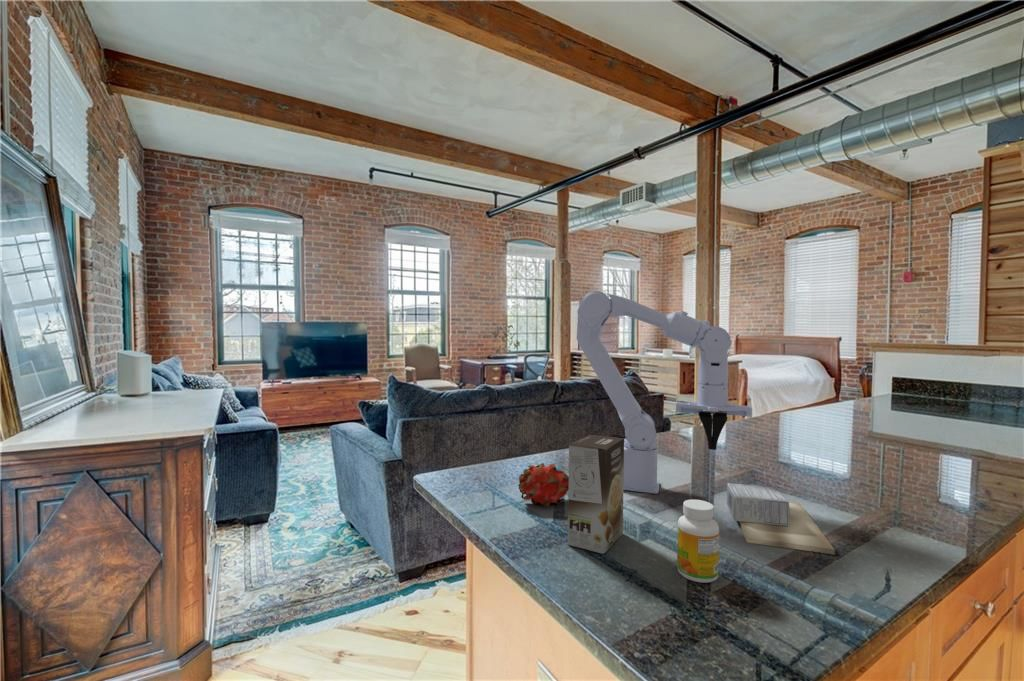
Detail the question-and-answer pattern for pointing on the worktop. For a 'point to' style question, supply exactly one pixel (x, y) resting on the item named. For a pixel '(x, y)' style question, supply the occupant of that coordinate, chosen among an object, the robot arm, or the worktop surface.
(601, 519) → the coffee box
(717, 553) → the supplement bottle
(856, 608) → the worktop surface
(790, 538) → the board
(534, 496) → the dragon fruit
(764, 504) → the medicine box
